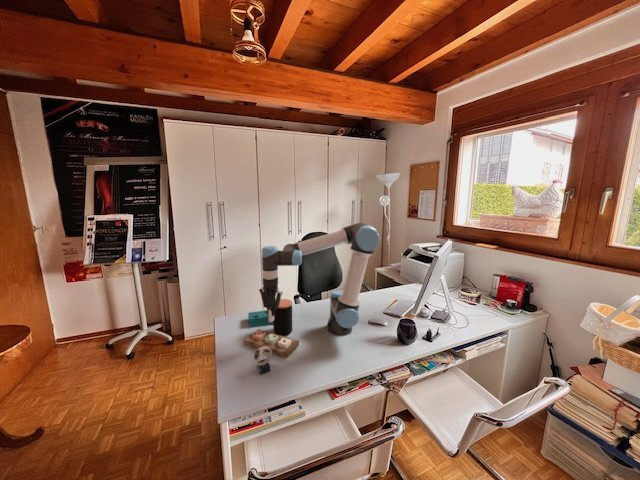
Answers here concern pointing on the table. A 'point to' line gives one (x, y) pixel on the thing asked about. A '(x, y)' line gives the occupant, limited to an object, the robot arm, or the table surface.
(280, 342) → the die
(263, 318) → the teal l-shaped bracket
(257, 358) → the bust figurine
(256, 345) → the wooden dice tray
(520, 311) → the table surface
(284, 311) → the coffee jar
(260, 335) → the die
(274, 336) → the die
